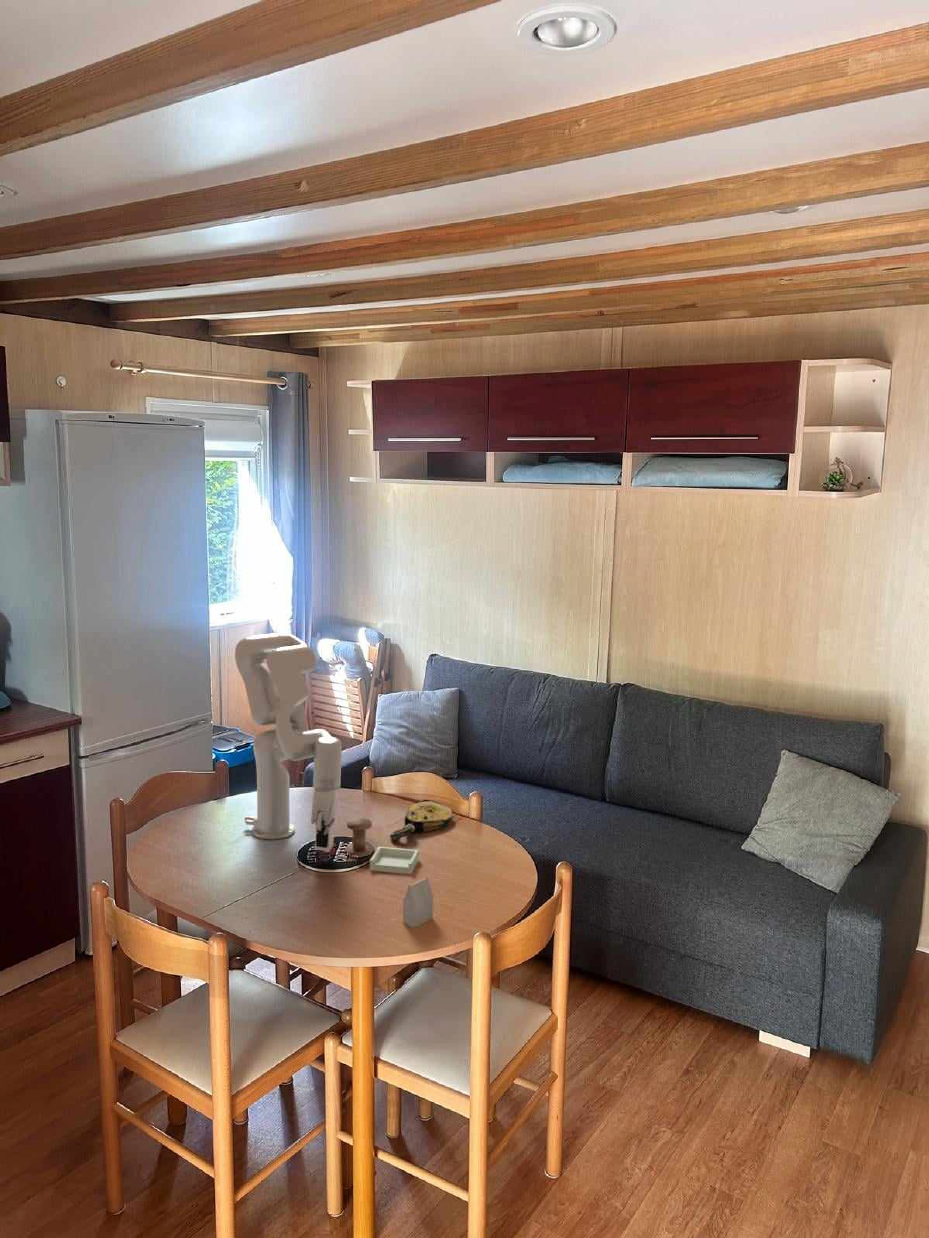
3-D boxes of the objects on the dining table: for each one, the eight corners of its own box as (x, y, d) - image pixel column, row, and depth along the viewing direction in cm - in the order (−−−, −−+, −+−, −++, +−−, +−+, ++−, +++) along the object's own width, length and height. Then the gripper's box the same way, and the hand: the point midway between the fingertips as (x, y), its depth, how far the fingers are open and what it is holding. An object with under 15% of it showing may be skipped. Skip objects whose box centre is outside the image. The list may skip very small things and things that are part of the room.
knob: (341, 856, 268) (341, 826, 267) (349, 845, 276) (349, 816, 274) (368, 858, 267) (369, 828, 265) (375, 848, 275) (376, 818, 273)
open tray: (369, 870, 259) (370, 859, 259) (378, 856, 269) (378, 846, 268) (411, 874, 258) (411, 863, 257) (418, 860, 267) (418, 850, 267)
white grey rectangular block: (314, 849, 263) (315, 822, 262) (319, 843, 267) (320, 816, 266) (329, 851, 263) (330, 824, 261) (333, 845, 267) (334, 818, 265)
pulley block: (375, 818, 280) (427, 790, 306) (372, 836, 282) (424, 807, 308) (415, 835, 274) (464, 805, 300) (412, 853, 275) (461, 822, 302)
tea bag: (432, 917, 233) (433, 879, 231) (413, 927, 228) (414, 888, 226) (421, 913, 235) (422, 875, 234) (402, 922, 230) (403, 883, 229)
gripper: (322, 769, 270) (320, 829, 273) (303, 790, 254) (301, 854, 257) (348, 772, 269) (345, 832, 272) (330, 794, 253) (328, 857, 256)
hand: (324, 842), depth 265 cm, fingers closed on white grey rectangular block, 4 cm apart
